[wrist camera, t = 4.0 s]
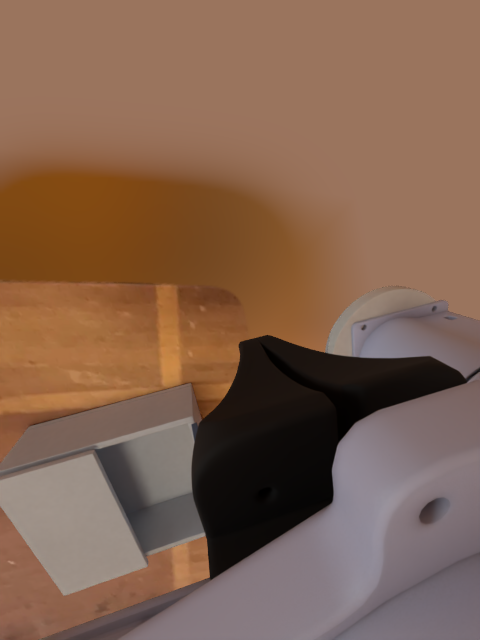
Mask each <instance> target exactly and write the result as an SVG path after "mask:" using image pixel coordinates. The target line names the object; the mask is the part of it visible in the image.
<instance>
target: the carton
mask: <svg viewBox="0 0 480 640" xmlns="http://www.w3.org/2000/svg"><path fill="white" fill-rule="evenodd" d="M200 421H202V418H201V415H200V411H199V408H198V404H197V401H196V397H195V394H194V390H193V387H192V384H191V383H188V384H184V385H181V386H177V387H173V388H170V389H166V390H162V391H158V392H155V393H151V394H147V395H144V396H140V397H136V398H133V399H129V400H125V401H121V402H118V403H114V404H110V405H107V406H103V407H99V408H96V409H92V410H88V411H84V412H81V413H77V414H73V415H70V416H66V417H62V418H59V419H55V420H51V421H47V422H44V423H40V424H36V425H33V426H29V427H28V429H27V430H26V431H25V433H24V434H23V435H22V436H21V438H20V439H19V440H18V442H17V443H16V444H15V445H14V447H13V448H12V449H11V451H10V452H9V453H8V454H7V456H6V457H5V458H4V459H3V461H2V462H1V463H0V506H1V508H2V509H3V510H4V512H5V513H6V515H7V516H8V517H9V519H10V520H11V522H12V523H13V525H14V526H15V527H16V529H17V530H18V532H19V533H20V534H21V536H22V537H23V539H24V540H25V541H26V543H27V544H28V546H29V547H30V549H31V550H32V551H33V553H34V554H35V556H36V557H37V558H38V560H39V561H40V563H41V564H42V565H43V567H44V568H45V570H46V571H47V573H48V574H49V575H50V577H51V578H52V580H53V581H54V582H55V584H56V585H57V587H58V588H59V589H60V591H61V592H62V594H63V595H64V596H66V595H68V594H71V593H74V592H77V591H80V590H83V589H85V588H88V587H91V586H94V585H97V584H100V583H102V582H105V581H108V580H111V579H114V578H117V577H119V576H122V575H125V574H128V573H131V572H134V571H136V570H139V569H142V568H145V567H148V559H147V557H146V556H149V555H152V554H155V553H158V552H161V551H164V550H167V549H169V548H172V547H175V546H178V545H181V544H184V543H187V542H190V541H192V540H195V539H198V538H201V537H204V536H206V535H205V532H204V529H203V526H202V523H201V520H200V517H199V514H198V511H197V508H196V505H195V502H194V499H193V492H192V477H191V465H192V455H193V448H194V443H195V442H194V437H193V432H192V426H191V424H193V423H196V422H197V424H198V425H199V423H200Z"/></svg>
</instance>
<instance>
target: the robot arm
mask: <svg viewBox="0 0 480 640" xmlns="http://www.w3.org/2000/svg"><path fill="white" fill-rule="evenodd" d="M432 308H433V309H432ZM362 325H364V327H363V328H362V329H361V327H362ZM351 337H352V357H351V356H342V355H335V354H330V353H324V352H319V351H315V350H311V349H308V348H304V347H301V346H298V345H295V344H292V343H289V342H286V341H284V340H281V339H279V338H276V337H273V336H269V335H266V336H262V337H258V338H254V339H250V340H246V341H242V342H240V343H239V350H240V362H239V366H238V370H237V373H236V376H235V379H234V381H233V383H232V385H231V387H230V389H229V391H228V393H227V394H226V396H225V397H224V399H223V400H222V401H221V403H220V404H219V405H218V406H217V407H216V408H215V409H214V410H213V411H212V412H211V413H210V414H209V415H207V416H206V417H205V418H204V419H203V420H202V421H200V423H199V425H198V429H197V433H196V438H195V443H194V448H193V455H192V465H191V477H192V492H193V499H194V502H195V505H196V508H197V511H198V514H199V517H200V520H201V523H202V526H203V529H204V532H205V535H206V538H207V545H208V558H209V570H210V578H208V579H205V580H202V581H199V582H196V583H194V584H191V585H188V586H185V587H183V588H180V589H177V590H174V591H172V592H169V593H166V594H163V595H161V596H158V597H155V598H152V599H150V600H147V601H144V602H141V603H138V604H136V605H133V606H130V607H127V608H125V609H122V610H119V611H116V612H114V613H111V614H108V615H105V616H103V617H100V618H97V619H94V620H92V621H89V622H86V623H83V624H81V625H78V626H75V627H72V628H69V629H67V630H64V631H61V632H58V633H56V634H53V635H50V636H47V637H45V638H42V639H39V640H480V321H479V320H476V319H472V318H469V317H466V316H462V315H459V314H456V313H453V312H449V311H448V302H447V301H444V300H439V301H435V302H432V303H428V304H424V305H420V306H416V307H412V308H409V309H405V310H401V311H397V312H393V313H390V314H386V315H382V316H378V317H374V318H370V319H367V320H363V321H359V322H356V323H354V324H353V325H352V327H351Z"/></svg>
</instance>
